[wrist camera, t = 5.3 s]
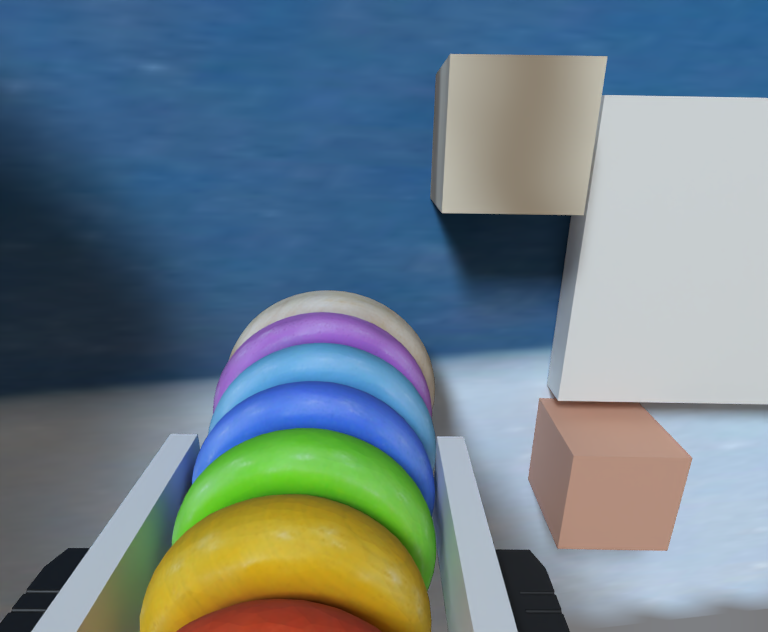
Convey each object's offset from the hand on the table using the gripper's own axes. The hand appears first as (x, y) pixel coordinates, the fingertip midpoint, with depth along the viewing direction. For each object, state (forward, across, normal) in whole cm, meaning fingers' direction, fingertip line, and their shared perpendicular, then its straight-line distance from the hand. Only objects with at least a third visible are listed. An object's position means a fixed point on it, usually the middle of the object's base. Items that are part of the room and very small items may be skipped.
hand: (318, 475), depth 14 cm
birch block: (+9, +6, +9) cm, 14 cm away
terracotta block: (+8, +11, -4) cm, 15 cm away
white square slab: (+8, +15, +5) cm, 18 cm away
